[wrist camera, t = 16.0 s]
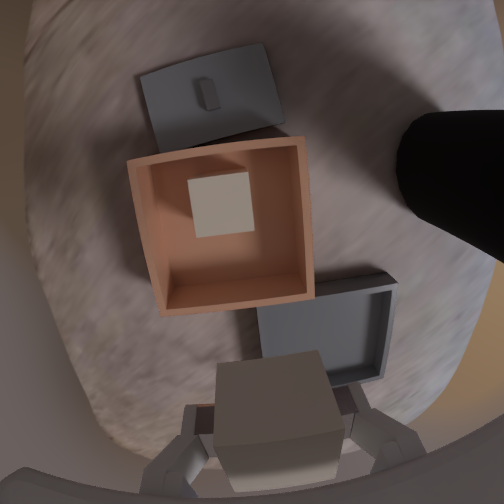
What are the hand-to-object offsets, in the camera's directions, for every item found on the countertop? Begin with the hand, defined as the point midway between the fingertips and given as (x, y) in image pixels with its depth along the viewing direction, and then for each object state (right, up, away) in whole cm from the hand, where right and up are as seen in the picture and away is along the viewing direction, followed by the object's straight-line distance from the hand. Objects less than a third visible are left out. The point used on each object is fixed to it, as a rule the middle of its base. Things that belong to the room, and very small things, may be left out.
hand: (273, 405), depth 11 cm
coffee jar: (+17, +14, +13) cm, 26 cm away
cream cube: (-3, +11, +13) cm, 17 cm away
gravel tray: (+6, -2, +18) cm, 20 cm away
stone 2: (0, 0, +1) cm, 1 cm away
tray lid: (-4, +18, +10) cm, 21 cm away
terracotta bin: (-3, +9, +14) cm, 17 cm away
